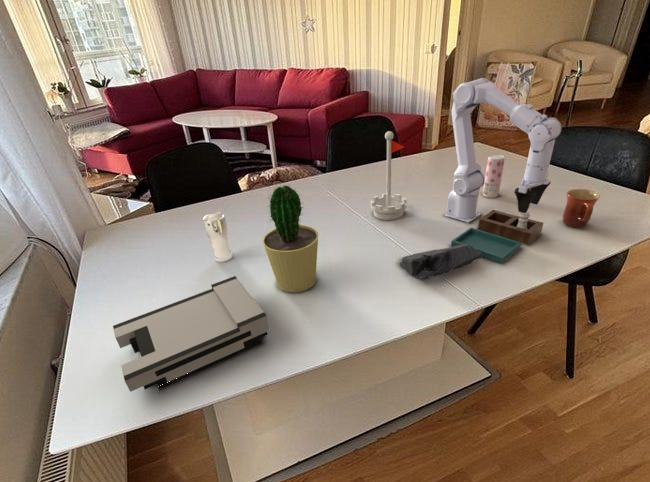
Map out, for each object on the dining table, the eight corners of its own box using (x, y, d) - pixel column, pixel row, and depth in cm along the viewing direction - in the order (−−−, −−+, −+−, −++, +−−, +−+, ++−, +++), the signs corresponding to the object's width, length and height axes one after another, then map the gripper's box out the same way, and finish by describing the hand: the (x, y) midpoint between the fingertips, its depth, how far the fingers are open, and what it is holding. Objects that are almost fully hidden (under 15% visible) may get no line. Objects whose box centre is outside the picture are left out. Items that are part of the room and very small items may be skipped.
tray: (450, 246, 124) (451, 240, 123) (470, 232, 130) (470, 227, 129) (501, 263, 113) (502, 258, 112) (520, 248, 119) (521, 242, 118)
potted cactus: (304, 302, 107) (290, 199, 91) (260, 289, 114) (240, 191, 98) (332, 273, 117) (324, 177, 101) (290, 263, 125) (276, 171, 109)
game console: (123, 346, 99) (110, 321, 94) (241, 299, 111) (235, 275, 106) (136, 403, 83) (122, 376, 79) (272, 341, 95) (266, 315, 91)
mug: (555, 217, 133) (563, 189, 127) (584, 217, 131) (593, 188, 125) (566, 234, 123) (575, 204, 118) (598, 235, 121) (609, 204, 116)
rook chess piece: (509, 232, 128) (514, 210, 123) (523, 231, 128) (528, 208, 123) (516, 239, 124) (521, 216, 119) (530, 237, 124) (536, 214, 119)
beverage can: (499, 193, 153) (506, 154, 145) (496, 198, 150) (503, 159, 141) (484, 191, 156) (490, 153, 148) (480, 196, 152) (486, 158, 144)
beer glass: (238, 252, 134) (228, 212, 125) (228, 263, 128) (217, 222, 120) (220, 251, 136) (210, 211, 128) (209, 261, 131) (198, 221, 122)
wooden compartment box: (477, 229, 131) (479, 218, 129) (491, 220, 136) (493, 209, 134) (527, 245, 120) (530, 233, 118) (540, 234, 125) (543, 222, 123)
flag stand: (366, 219, 146) (365, 136, 129) (375, 204, 155) (375, 126, 139) (402, 222, 141) (405, 137, 124) (409, 207, 151) (412, 126, 134)
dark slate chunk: (491, 264, 110) (491, 248, 108) (418, 283, 107) (417, 267, 105) (460, 246, 123) (460, 232, 121) (395, 262, 120) (394, 248, 118)
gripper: (541, 174, 106) (530, 219, 114) (563, 159, 114) (552, 202, 121) (515, 169, 111) (506, 213, 118) (537, 155, 118) (528, 197, 126)
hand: (528, 207), depth 120 cm, fingers open, 7 cm apart
